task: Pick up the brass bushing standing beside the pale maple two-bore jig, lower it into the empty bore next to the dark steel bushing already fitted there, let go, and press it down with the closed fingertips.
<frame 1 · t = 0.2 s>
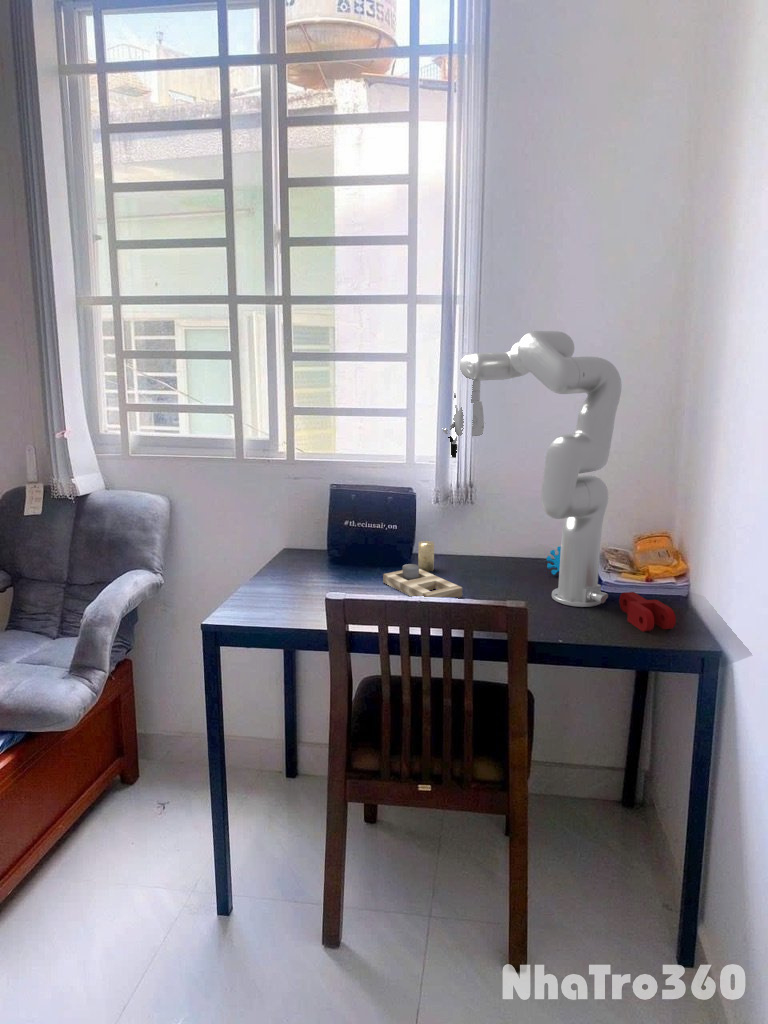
hand: (464, 455, 215), 31 cm above the table, tool pointing down, fingers open, 9 cm apart
brass bushing: (425, 569, 209), on the table
gear: (565, 576, 205), on the table
jig: (421, 589, 193), on the table
mechanical linkage: (640, 621, 173), on the table
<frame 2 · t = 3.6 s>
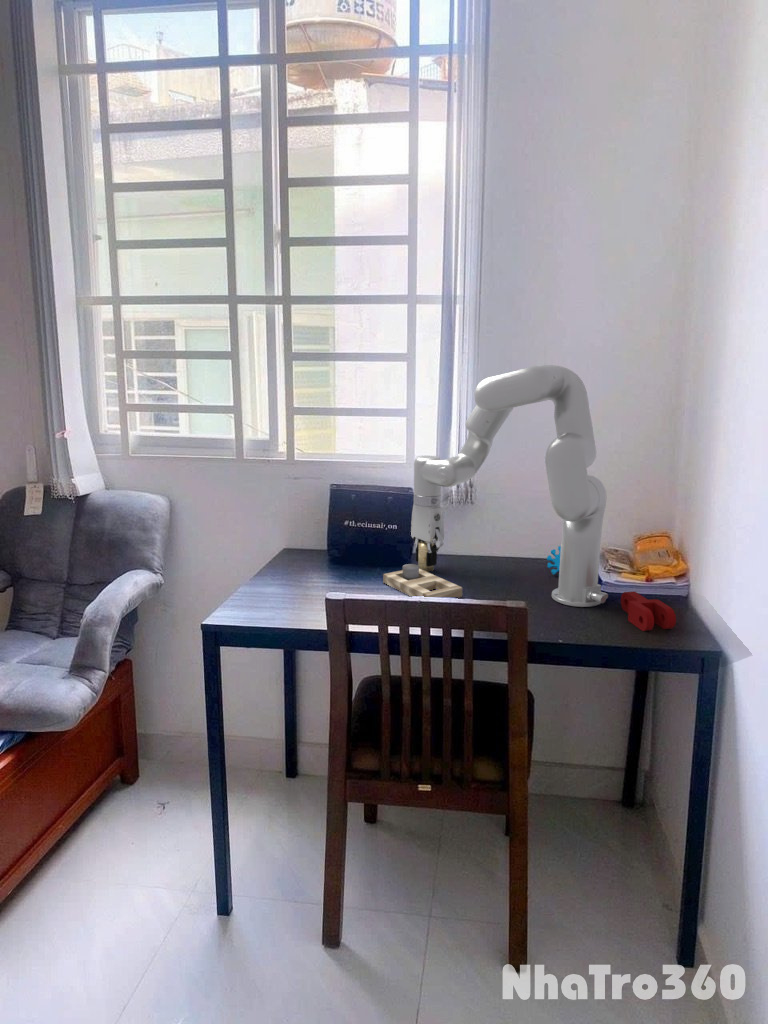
hand: (426, 562, 208), 2 cm above the table, tool pointing down, fingers closed on brass bushing, 4 cm apart
brass bushing: (425, 569, 209), on the table, touching gripper
everything else where it was.
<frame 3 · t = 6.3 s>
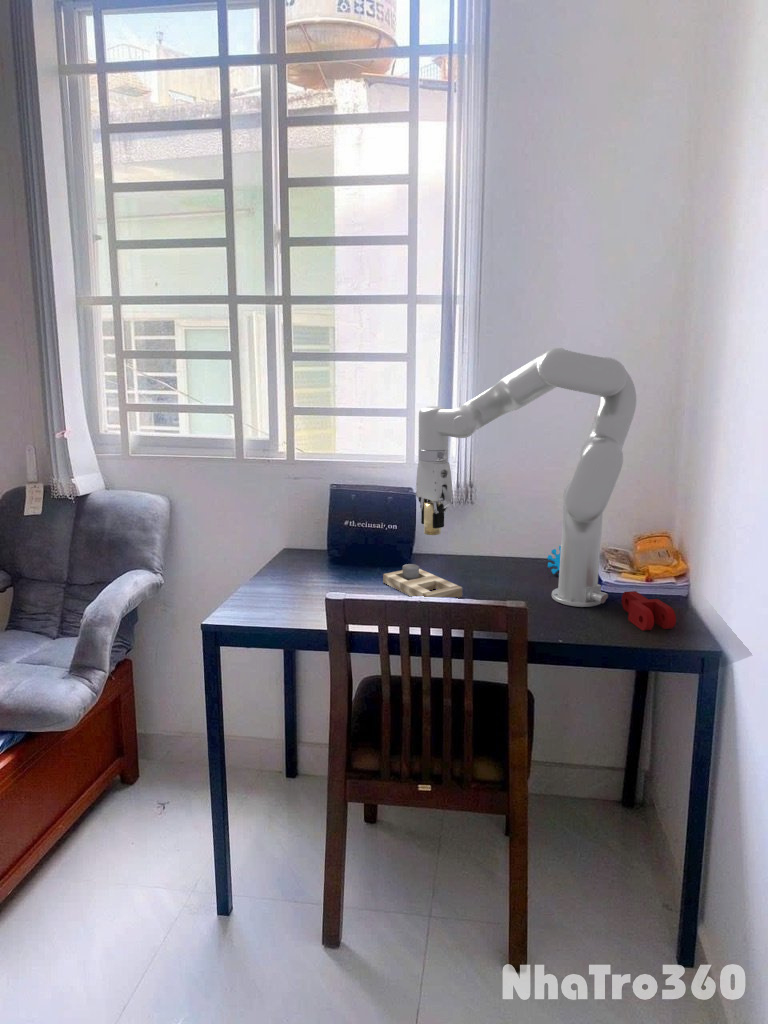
hand: (432, 524, 191), 17 cm above the table, tool pointing down, fingers closed on brass bushing, 4 cm apart
brass bushing: (432, 532, 191), point 15 cm above the table, touching gripper
everything else where it was.
when the fingers open (4 cm above the table, at t = 9.0 s): brass bushing drops 2 cm, resting in jig.
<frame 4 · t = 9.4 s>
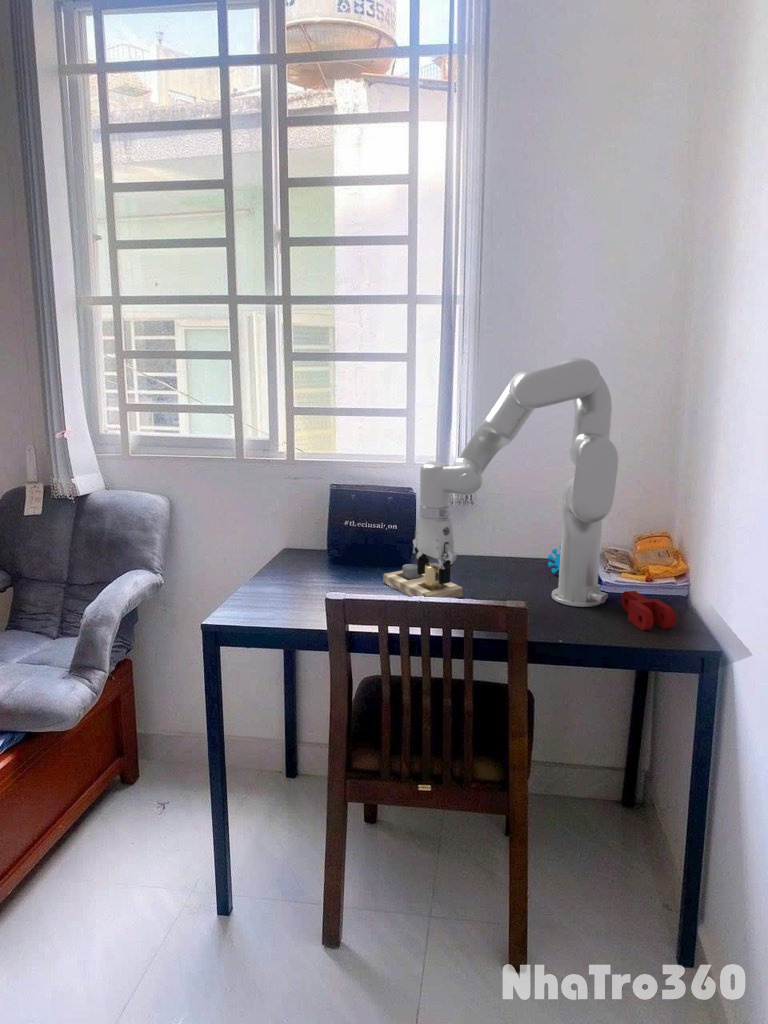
hand: (433, 578, 187), 5 cm above the table, tool pointing down, fingers open, 8 cm apart
brass bushing: (433, 595, 188), resting in jig
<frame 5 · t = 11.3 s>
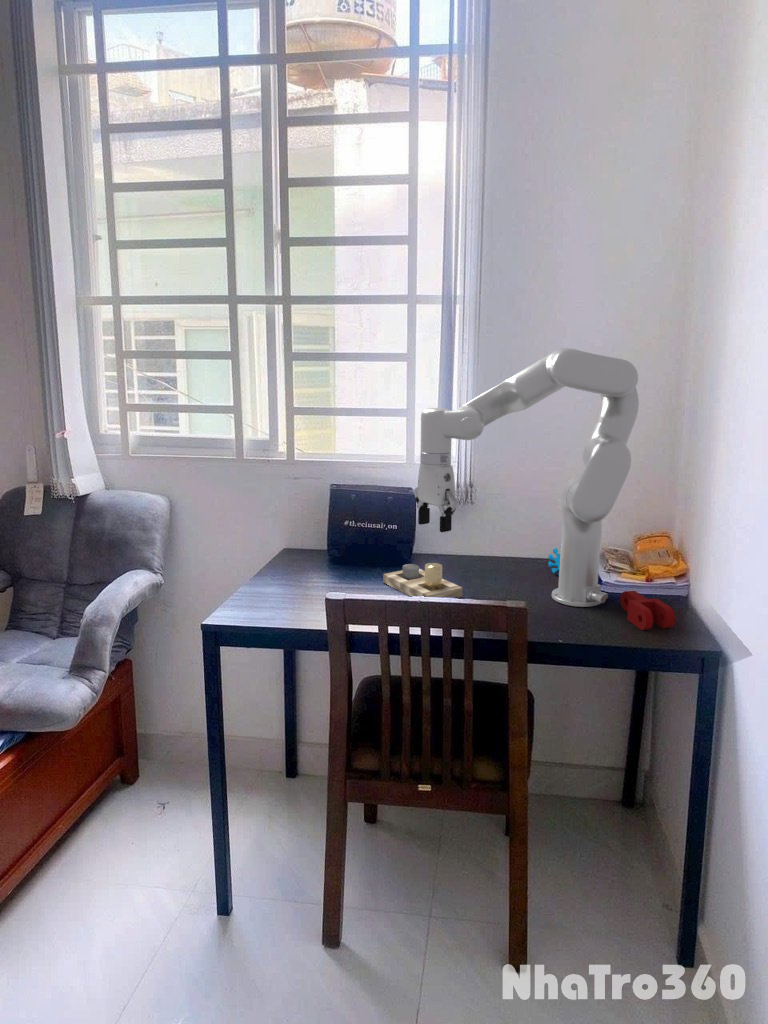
hand: (434, 527, 184), 18 cm above the table, tool pointing down, fingers open, 8 cm apart
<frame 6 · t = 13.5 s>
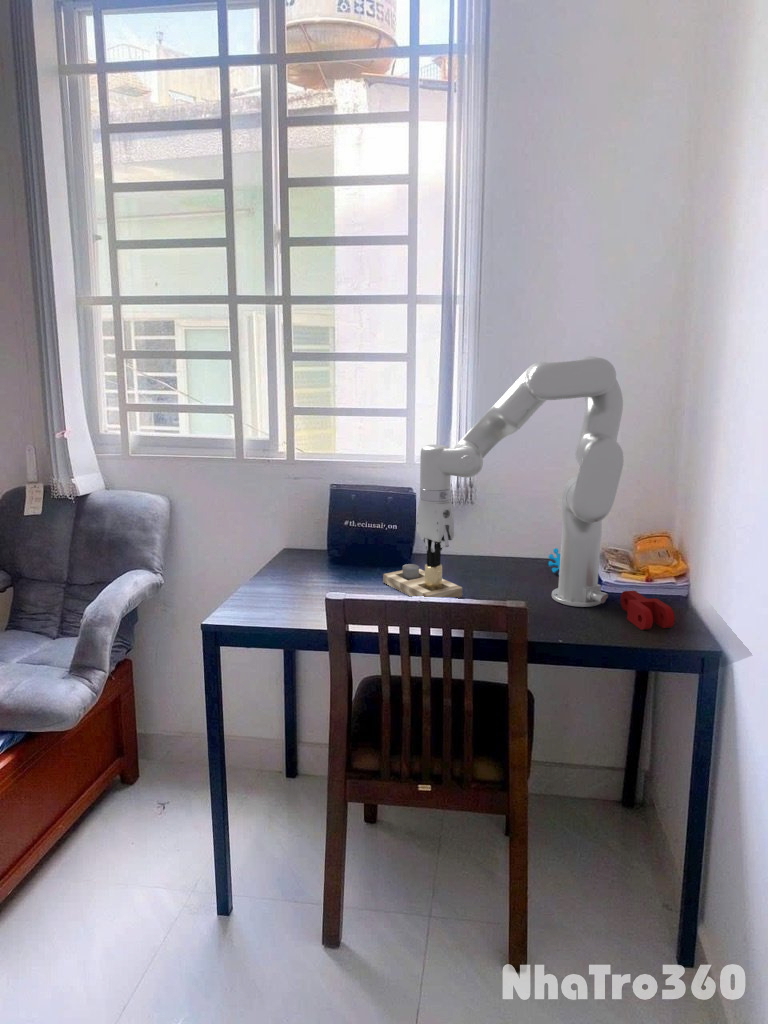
hand: (433, 565, 187), 8 cm above the table, tool pointing down, fingers closed
brass bushing: (433, 595, 188), resting in jig, touching gripper
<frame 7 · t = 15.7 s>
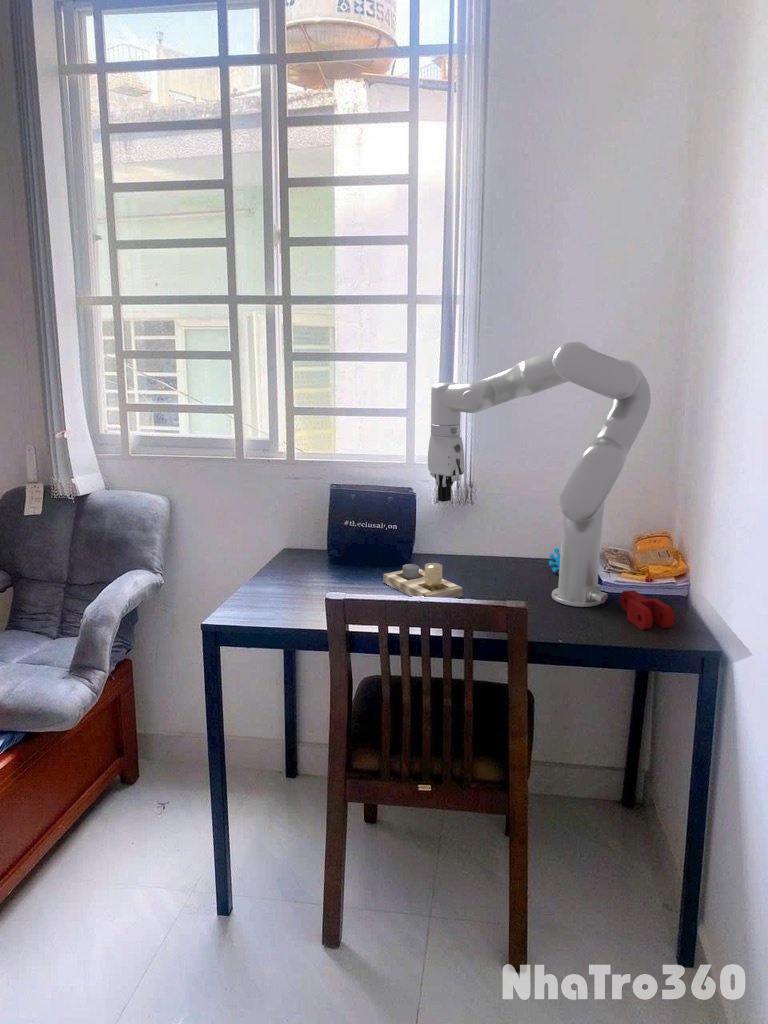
hand: (444, 500, 193), 23 cm above the table, tool pointing down, fingers closed
brass bushing: (433, 595, 188), resting in jig
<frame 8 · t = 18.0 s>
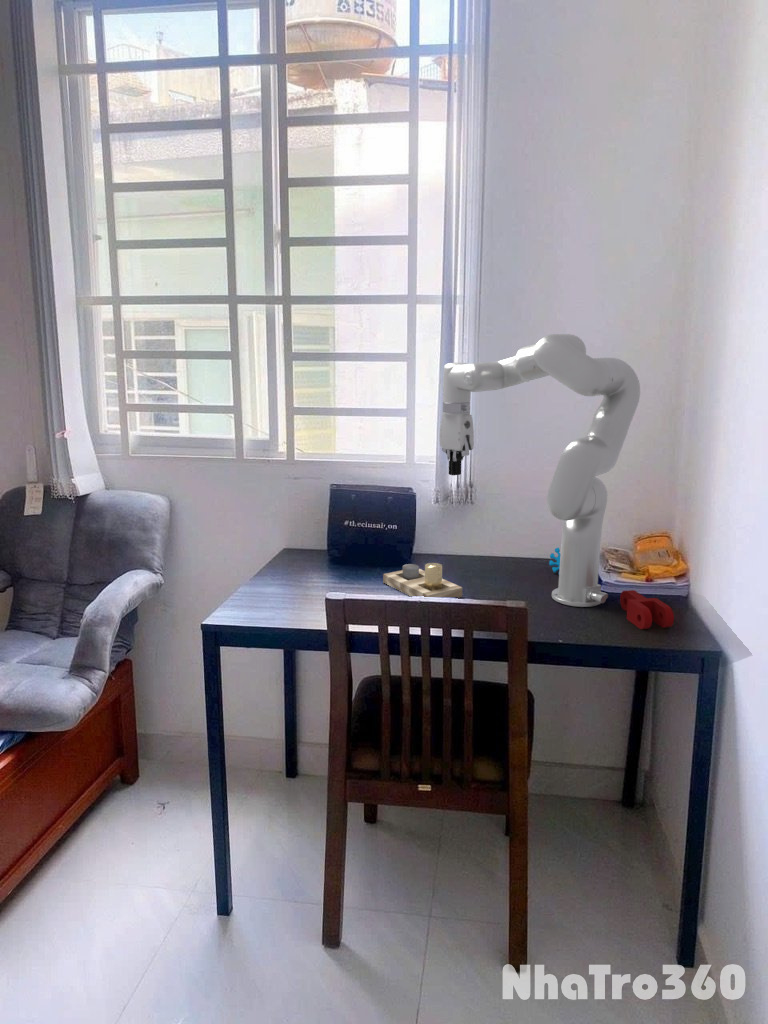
hand: (454, 474, 205), 27 cm above the table, tool pointing down, fingers closed
at the end: brass bushing 0.0 cm from the target spot on the jig, point 0.0 cm above the jig's base; brass bushing tilted 0°; the gripper is holding nothing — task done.
